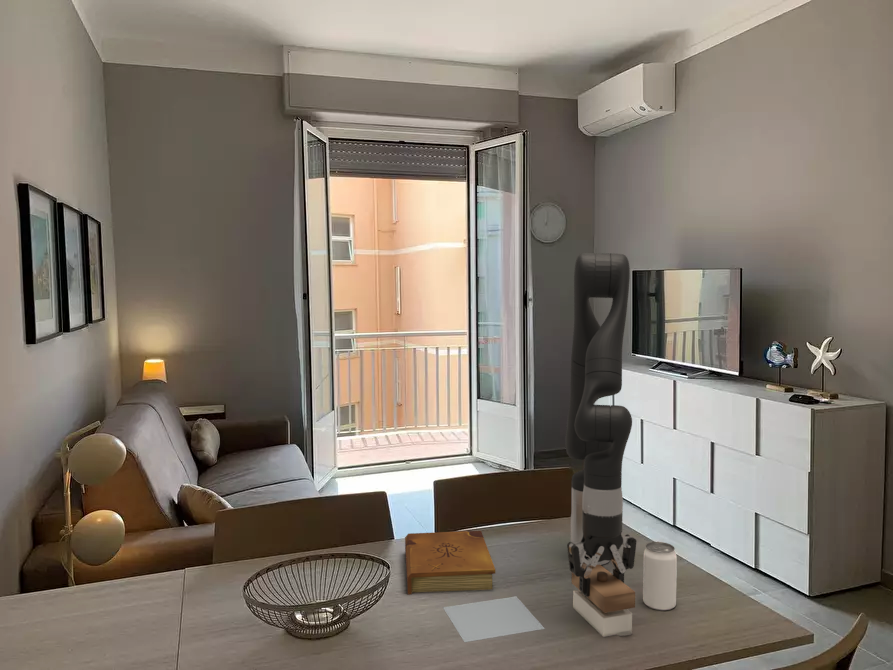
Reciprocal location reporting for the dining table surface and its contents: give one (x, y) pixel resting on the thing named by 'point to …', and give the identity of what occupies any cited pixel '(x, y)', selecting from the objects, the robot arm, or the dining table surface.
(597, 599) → the lid
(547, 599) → the dining table surface
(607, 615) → the dish
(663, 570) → the can
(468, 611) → the mat
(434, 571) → the diary
